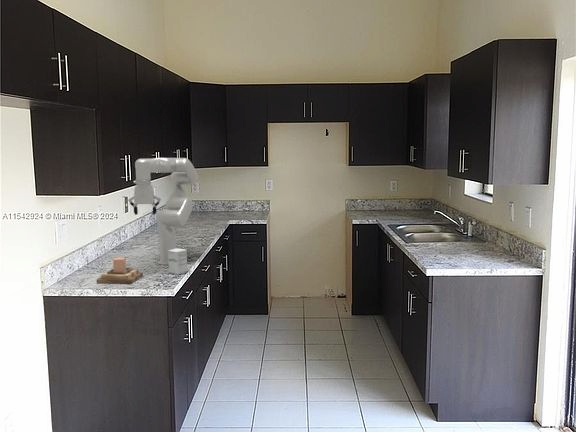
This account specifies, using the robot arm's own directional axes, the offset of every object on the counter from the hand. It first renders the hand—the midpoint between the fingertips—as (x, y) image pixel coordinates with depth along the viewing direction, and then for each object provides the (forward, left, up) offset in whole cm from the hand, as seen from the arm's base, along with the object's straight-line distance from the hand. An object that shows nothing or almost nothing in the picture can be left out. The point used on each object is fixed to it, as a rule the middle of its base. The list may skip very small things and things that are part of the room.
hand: (145, 214), depth 286 cm
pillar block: (+18, -8, -28) cm, 34 cm away
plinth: (+18, -8, -32) cm, 37 cm away
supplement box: (0, +17, -32) cm, 36 cm away
